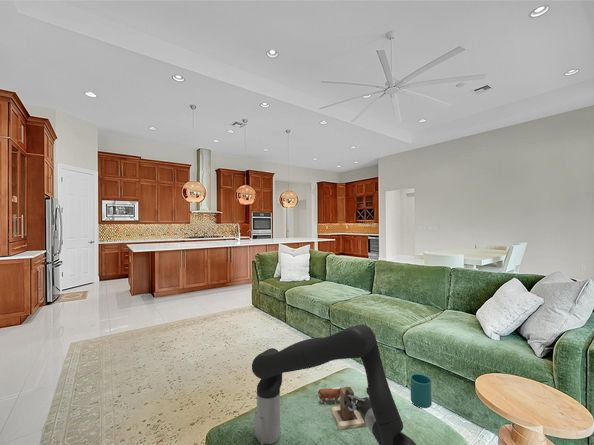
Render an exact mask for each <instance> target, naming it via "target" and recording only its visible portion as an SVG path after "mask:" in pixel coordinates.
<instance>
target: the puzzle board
mask: <svg viewBox="0 0 594 445" xmlns="http://www.w3.org/2000/svg"><path fill="white" fill-rule="evenodd" d="M330 412H331V414H332V417H333V419H334V421H335V423H336V426H337V428H338V430H339V431H342V430H343V431H344V430H350V429H357V428H358V429H359V428H368V427H367V426H366V424H365V422H364V420H363V419H362V417H361V415H360V412H358V411H357V410H354V420H349V421H343V420H342V418H341V416H340V405H338V406H332V407H330Z"/></svg>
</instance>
